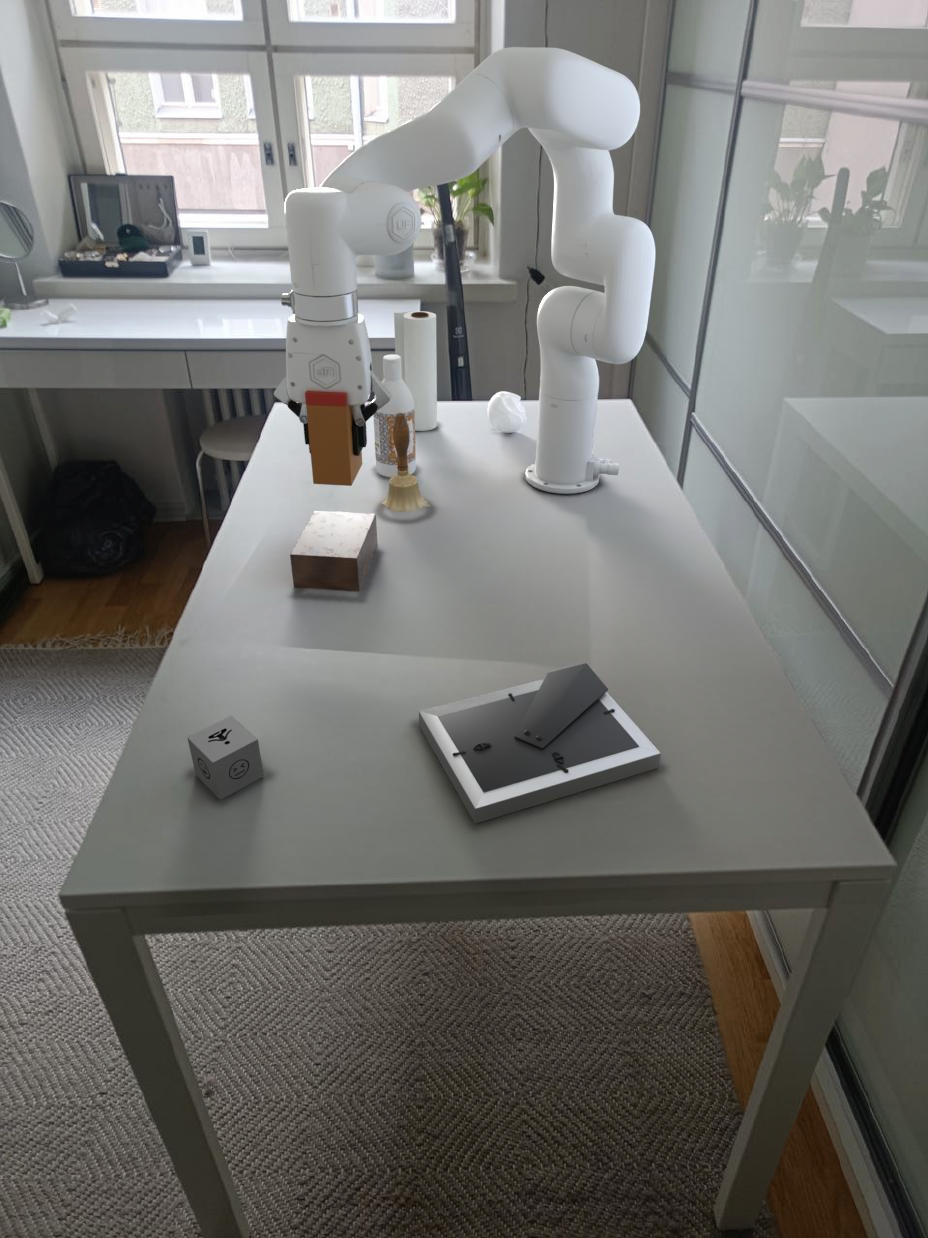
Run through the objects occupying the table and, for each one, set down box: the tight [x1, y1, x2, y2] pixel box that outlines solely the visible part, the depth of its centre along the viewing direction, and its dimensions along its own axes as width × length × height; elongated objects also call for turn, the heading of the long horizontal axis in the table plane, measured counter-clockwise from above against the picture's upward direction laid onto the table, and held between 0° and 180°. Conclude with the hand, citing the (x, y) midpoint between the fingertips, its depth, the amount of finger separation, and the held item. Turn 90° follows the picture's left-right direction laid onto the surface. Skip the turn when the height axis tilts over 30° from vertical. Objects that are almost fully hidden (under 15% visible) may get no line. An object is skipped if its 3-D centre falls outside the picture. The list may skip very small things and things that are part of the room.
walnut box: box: [289, 510, 379, 593], centre depth 122 cm, size 9×13×6 cm
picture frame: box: [418, 662, 662, 825], centre depth 93 cm, size 16×3×21 cm
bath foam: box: [372, 354, 417, 479], centre depth 147 cm, size 7×7×20 cm
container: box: [305, 391, 363, 487], centre depth 111 cm, size 11×7×13 cm
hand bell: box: [381, 413, 431, 513], centre depth 136 cm, size 8×8×16 cm
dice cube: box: [187, 714, 265, 801], centre depth 88 cm, size 5×5×5 cm
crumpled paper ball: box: [486, 390, 528, 434], centre depth 167 cm, size 8×8×8 cm
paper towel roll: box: [393, 310, 438, 432], centre depth 165 cm, size 7×6×21 cm
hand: (336, 449), depth 113 cm, fingers closed on container, 5 cm apart
